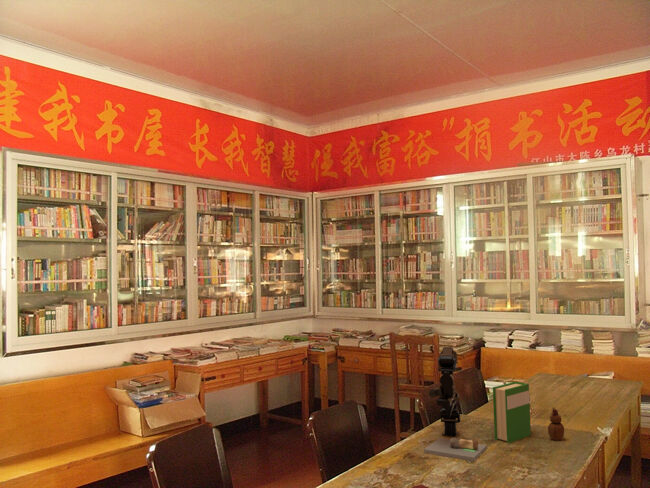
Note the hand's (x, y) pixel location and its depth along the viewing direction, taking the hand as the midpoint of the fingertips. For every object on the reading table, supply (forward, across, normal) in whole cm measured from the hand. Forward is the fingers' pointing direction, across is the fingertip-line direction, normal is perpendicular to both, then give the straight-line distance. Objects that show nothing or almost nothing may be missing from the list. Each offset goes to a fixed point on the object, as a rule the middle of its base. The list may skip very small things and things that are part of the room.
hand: (448, 417), depth 255 cm
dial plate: (+12, +9, +5) cm, 15 cm away
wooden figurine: (+12, -24, +43) cm, 51 cm away
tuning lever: (+10, +9, +9) cm, 16 cm away
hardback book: (+12, -20, +25) cm, 34 cm away
